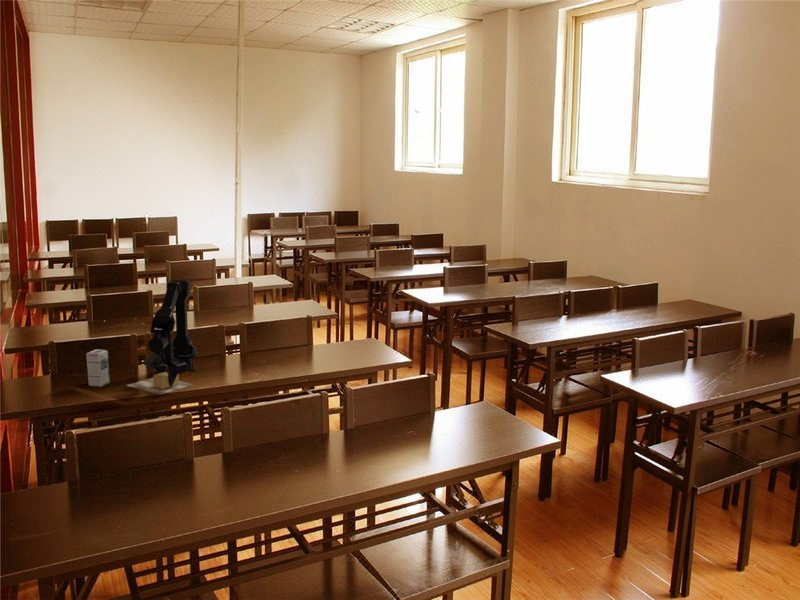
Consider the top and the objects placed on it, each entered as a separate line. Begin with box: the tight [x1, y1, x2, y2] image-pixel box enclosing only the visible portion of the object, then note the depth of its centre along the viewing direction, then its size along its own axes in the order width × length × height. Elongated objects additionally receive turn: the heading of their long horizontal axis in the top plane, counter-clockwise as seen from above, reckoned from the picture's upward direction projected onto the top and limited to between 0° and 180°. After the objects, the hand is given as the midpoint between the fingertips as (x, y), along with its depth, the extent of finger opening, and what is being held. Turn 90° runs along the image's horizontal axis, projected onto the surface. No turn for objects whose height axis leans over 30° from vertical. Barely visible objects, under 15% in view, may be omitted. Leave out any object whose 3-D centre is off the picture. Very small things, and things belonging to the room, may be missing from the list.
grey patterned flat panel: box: [126, 377, 194, 396], centre depth 282 cm, size 16×20×1 cm
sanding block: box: [152, 372, 180, 390], centre depth 279 cm, size 8×5×5 cm, turn 147°
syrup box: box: [85, 349, 111, 387], centre depth 280 cm, size 6×6×14 cm
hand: (166, 384), depth 279 cm, fingers closed on sanding block, 5 cm apart
